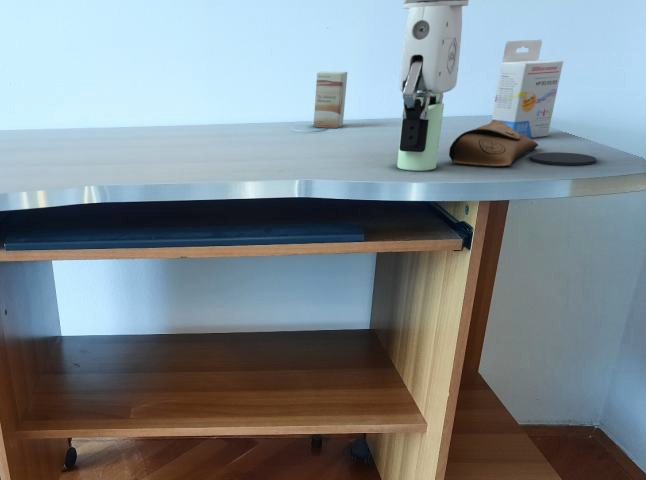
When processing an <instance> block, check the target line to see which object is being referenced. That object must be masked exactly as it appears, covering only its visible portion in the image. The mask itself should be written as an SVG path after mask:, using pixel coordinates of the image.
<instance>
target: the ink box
mask: <svg viewBox="0 0 646 480" xmlns="http://www.w3.org/2000/svg"><path fill="white" fill-rule="evenodd" d="M542 43H543V41H542V39H523V40H507V41H506V42H505V44H504V45H505V46H504V49H503V57H502V61H501V64H500V68H499V75H498V80H497V86H496V92H495V99H494V103H493V110H492V116H491V122H492V121H494V120H499V121H501V122H503V123H505V124H507V125H508V126H509V127H510V128H512V129H513V130H514V131H516V132H517V133H518V134H521V135H523V136H526V137H528V138H530V139H533V138H542V137H543V138H544V137H548V136H549V131H550V127H551V123H552V118H553V113H554V108H555V102H556V97H557V92H558V88H559V83H560V79H561V74H562V69H563V65H564V60H548V59H547V60H546V59H545V60H544V59H539V58H540V54H541V48H542V45H543V44H542ZM523 47H524V49H528V50H527V51H525V52H524V51H523V52H522V51H521V52H517V50H518V49H521V48H523Z"/></svg>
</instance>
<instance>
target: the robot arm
mask: <svg viewBox="0 0 646 480" xmlns="http://www.w3.org/2000/svg"><path fill="white" fill-rule="evenodd" d="M467 6H469V0H403V4H402V9H403V10H408V15H407V20H406V25H405V31H404V38H403V46H402V52H401V58H400V59H401V61H400V71H399V86H398V87H399V90H400V92H401V93H402V99H403V111H402V116H401V117H403V120H402V119H401V125H402V130H401V129H400V135H401V139H400V138H399V144H400V150H401V151H409V152H423V151H424V150H425V147H426V139H427V131H428V123H429V120H428V119H426V116H427V111H428V106H430V105H435V104H440V103H443V99H444V93H447V92H450V91H452V90H454V89H455V87H456V86H457V82H458V75H459V74H458V73H459V64H460V54H461V42H462V29H463V7H467Z"/></svg>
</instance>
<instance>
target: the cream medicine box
mask: <svg viewBox="0 0 646 480" xmlns="http://www.w3.org/2000/svg"><path fill="white" fill-rule="evenodd" d="M347 81H348V71H334V70H333V71H323V70H322V71H319V72H316V86H315V99H314V100H315V101H314V113H313V128H323V129H326V128H327V129H338V128H341V127H342V126H344V117H345V105H346V95H347Z"/></svg>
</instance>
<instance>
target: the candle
mask: <svg viewBox="0 0 646 480" xmlns="http://www.w3.org/2000/svg"><path fill="white" fill-rule="evenodd" d="M444 107H445V103H443V102H442V103H440V104H435V105H430V106H428V111H427V116H426V119H428V120H429V123H428V131H427V139H426V147H425V150H424V151H423V152H409V151H401V150H400V143H399V145H398V155H397V163H396V167H397V168H398V169H399V170H402V171H411V172H427V171H432V170H435V169H436V168H437V163H438V155H439V154H438V153H439V147H440V139H441V131H442V124H443V116H444V115H443V114H444ZM401 117H402V116H401ZM402 120H403V117H402V118H401V121H402ZM401 130H402V124H401V125H400V131H401ZM400 139H401V134H400V136H399V140H400Z"/></svg>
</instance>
